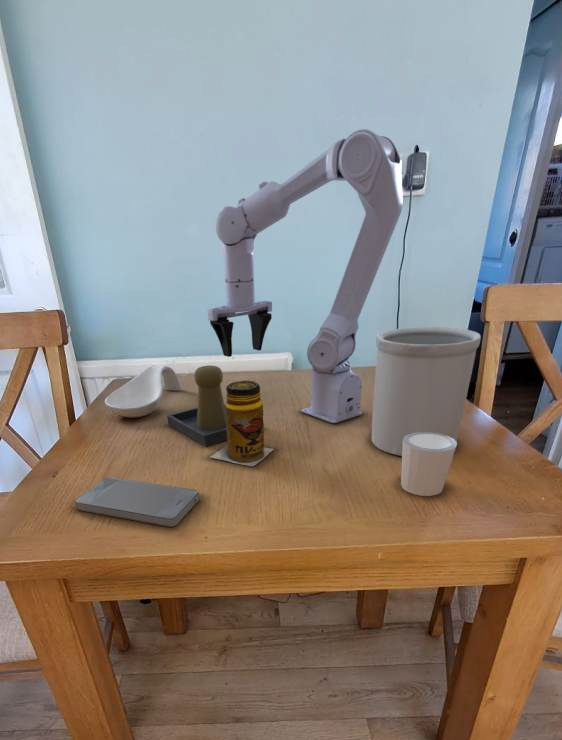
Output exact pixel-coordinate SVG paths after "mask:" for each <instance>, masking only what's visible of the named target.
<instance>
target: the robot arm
mask: <svg viewBox="0 0 562 740" xmlns="http://www.w3.org/2000/svg"><path fill="white" fill-rule="evenodd" d="M402 164H403V159H402V158H401V155H400V153H399V151H398V149H397V147H396V145H395V143H394V141H393V140H392V139H390V137H387V136H383V135H380V134H376V133H374V132H373V131H372V130H370V129H367V128H362V129H357V130H355V131H353V132H352V133H350V134H349V135H348V136H347V137H346V138H342V139H340V140H337V141H336V142H334V143H333V144H332V145H331V146H330V147H329V148H327V149H326V150H325V151H324V152H322V153H321V154H320V155H318V156H317V157H315V158H314V159H313V160H312V161H310V162H309V163H307V164H306V165H305V166H304V167H302V168H301V169H299V170H298V171H297V172H295V173H294V174H292V175H291V176H290V177H289V178H288V179H286V180H285V181H284V182H282V183H279V182H276V181H272V180H271V181H270V182H269V181H263V182H261V183H259V184H258V190H256V191H254V193H252V194H250V195H249V196H247V197H246V198H245V197H241V198H240V199H238V200H237V203H238V204H237V205H236V207H235V206H231V205H229V206H228V205H227V206H224V207H223V208H222V210H221V211H220V212H219V213H218V215H217V217H216V219H215V232H216V235H217V237H218V239H219V240H220V241H221V242H222V257H223V258H222V259H223V272H224V274H223V275H224V289H225V305H221V306H218V307H213V308H208V309H207V310H206V311H207V320H208V321H209V323H210V326H211V327H212V329H213V330H214V333H215V334H216V337H217V339H218V342H219V344H220V347H221V350H222V354H223V356H224V357H228V358H230V357H232V356H233V342H232V340H233V329H234V321H230V318H235V317H236V318H237V317H242V316H243V317H244V316H248V320H249V324H250V331H251V345H252V350H254V351H261V350H262V348H263V343H264V340H265V339H264V338H265V334H266V332H267V329H268V327H269V324H270V322H271V321H272V316H273V315H272V313H271V312H273V301H272V300H262V301H256V300H255V299H256V298H255V297H256V295H255V267H254V265H255V264H254V249H255V247H254V243H255V239H256V237H257V236H258V234H260V233H262V232H263V231H265V230H266V229H268V228H269V227H271V226H273V225H274V224H276V223H278V222H279V221H280V220H282V219H284V218H285V217H287V215H288V213H289V210H290V206H291V204H293V203H295V202H297V201H298V200H300V199H302V198H303V197H306V196H307V195H309V194H311V193H313V192H314V191H316V190H318V189H320V188H322V187H323V186H325V185H327V184H328V183H330V182H333V181H336V182H337V181H340V182H342V181H343V182H347V183H348V185H350V186H351V188H352V189H353V190H354V191H355V192H356V193H357V195H358V197H359V200H360V202H361V205H362V207H363V209H364V213H365V215H364V218H363V220H362V223H361V226H360V228H359V231H358V234H357V236H356V240H355V243H354V246H353V248H352V251H351V254H350V256H349V259H348V262H347V265H346V268H345V271H344V273H343V276H342V279H341V281H340V284H339V287H338V289H337V293H336V295H335V298H334V301H333V303H332V306H331V309H330V311H329V314H328V315H327V317H326V318H325V320H324V321H323V322H322V324H321V325H320V328H319V330H318V333H317V334H316V335H315V337H314V338H312V340H311V341H310V342H309V344H308V346H307V350H306V356H307V360H308V362H309V364H310V366H311V383H310V384H311V389H310V406H308V407H305V408H302V409H301V412H302V413H304V414H305V415H310V416H311V417H314V418H317V419H320V420H323V421H325V422H328V423H331V424H337V423H340V422H343V421H346V420H349V419H352V418H355V417H358V416H361V415H363V411H361V410H360V409H361V397H362V385H363V384H362V379H361V377H360V376H359V375H358V374H356V373H354V372H353V371H352V370H351V362H350V357H351V356H353V354H354V352H355V350H356V342H357V341H356V335H357V333H358V330H359V322H358V321H359V317H360V315H361V313H362V310H363V308H364V305H365V302H366V300H367V297H368V295H369V293H370V291H371V288H372V285H373V284H374V281H375V278H376V276H377V273H378V270H379V268H380V266H381V263H382V260H383V258H384V256H385V253H386V252H387V249H388V246H389V243H390V241H391V239H392V237H393V233H394V231H395V228H396V226H397V223H398V221H399V219H400V217H401V214H402V210H403V207H404V204H403V203H404V202H403V201H404V200H403V186H402Z"/></svg>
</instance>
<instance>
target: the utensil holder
mask: <svg viewBox="0 0 562 740" xmlns="http://www.w3.org/2000/svg"><path fill="white" fill-rule="evenodd" d="M481 339H482V336H481V333H478V332H477V331H474V330H470V329H465V328H459V327H446V326H417V327H405V328H395V329H389V330H385V331H382V332H379V333H378V334H377V335H376V341H375V344H376V347H377V349H376V364H375V374H374V375H375V377H374V389H373V400H372V401H373V402H372V415H371V419H372V420H371V442H372V444H373V445H374V447H376V448H378V449H379V450H381V451H382V452H385V453H388V454H391V455H395V456H399V457H402V449H403V439H404V437H405V436H406V435H409V434H411V433H417V432H432V433H439V434H443V435H446V436H449V437H451V438H453V439H454V440H455V441H456V442H457V441H458V439H459V433H460V429H461V425H462V421H463V416H464V411H465V407H466V401H467V397H468V392H469V387H470V382H471V378H472V373H473V369H474V364H475V359H476V355H477V349H478V348H479V347H480V343H481ZM457 443H458V442H457Z"/></svg>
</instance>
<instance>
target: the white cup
mask: <svg viewBox="0 0 562 740" xmlns="http://www.w3.org/2000/svg"><path fill="white" fill-rule="evenodd" d="M457 446H458V442H456V441H455V440H454V439H453V438H451V437H449V436H446V435H443V434H439V433H432V432H417V433H411V434H409V435H406V436H405V437H404V439H403V449H402V456H401V473H400V474H401V475H400V476H401V477H400V486H401V488H402V489H403V490H404V491H406V492H407V493H409V494H412V495H415V496H421V497H433V496H436V495H439V494H441V493H442V492H443V489H444V486H445V483H446V480H447V477H448V473H449V471H450V468H451V464H452V462H453V458H454V455H455V452H456V449H457Z"/></svg>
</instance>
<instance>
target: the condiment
mask: <svg viewBox="0 0 562 740" xmlns="http://www.w3.org/2000/svg"><path fill="white" fill-rule="evenodd" d="M225 390H226V401H225V403H224V404H225V412H226V427H227V440H226V441H227V442H226V443H227V444H226V445H225V446H224V447H223V448H221V449H219V451H216V452H215V453H214V454H212V455H211V456H210V457H209V458H210V459H215V460H221V461H226V462H230V463H233V464H238V465H243V466H247V467H255V466H256V465H257V464H259V463H260V462H261V461H263V460H264V459H265V458H266V457H267V456H269V454H270V453H272V451H274V448H271V447H270V448H269V447H265V431H264V430H265V427H264V425H265V424H264V403H263V400H261V386H260V384H259V383H258V382H256V381H253V380H238V381H233V382H231V383H230V382H229V384H228V385H227V386H226V389H225Z"/></svg>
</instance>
